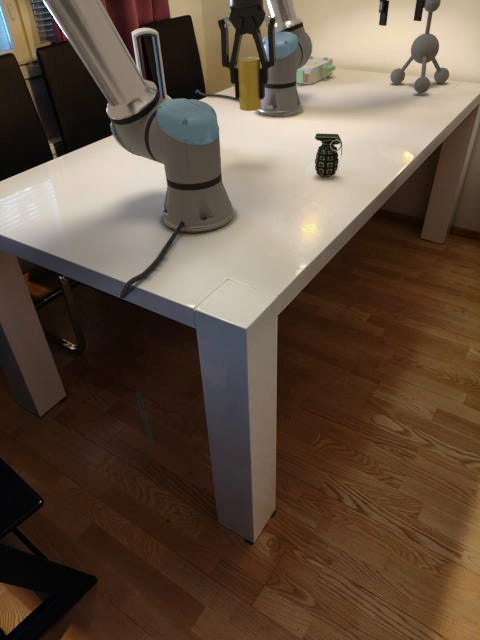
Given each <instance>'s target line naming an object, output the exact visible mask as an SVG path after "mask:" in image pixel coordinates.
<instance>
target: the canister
mask: <svg viewBox="0 0 480 640" xmlns="http://www.w3.org/2000/svg"><path fill="white" fill-rule="evenodd" d="M237 68H238V81H239V100H240V101H239V109H240V110H241V111H244V112H253V111H254V112H255V111H257V110H258V109H261V99H260V87H259V70H260V69H261V62H260V58H259V56H245V57H244V56H243V57H240V58H239V57H238V60H237Z"/></svg>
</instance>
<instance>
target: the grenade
mask: <svg viewBox="0 0 480 640" xmlns="http://www.w3.org/2000/svg"><path fill="white" fill-rule="evenodd" d="M314 139H315V140H316V141H319V142H321V145H319V146H318V148H317V152H316V155H315V159H314V164H315V165H314V170H315V171H316V172H315V173H316V175H318V176H319V177H320V178H322V179H329V178H332V177H333V176H334V175H336V174H337V172H338V171H339V170H340V169H339V163H340V162H342V161H341V160H342V159H340V160H339V153H338V151H341V152H340V157H342V156H343V142H342V138H341V137H340V135H339V133H316V134H315V136H314ZM336 145H337V146H338V145H339V148H338V147H337V146H336Z"/></svg>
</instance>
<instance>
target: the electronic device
mask: <svg viewBox="0 0 480 640" xmlns="http://www.w3.org/2000/svg"><path fill="white" fill-rule="evenodd" d="M130 34H131V39H132V45H133V52H134V58H135V64H136V66H137V68H138V69H139V71H140V73H141V75H142V77H143V79H144V80H146V78H145V71H144V70H145V69H144V65H143V64H144V63H143V58H142V51H141V45H140V38H142V37H147V36H149V37H151V39H152V46H153V54H154V61H155V69H156V76H157V83H158V90H159V92H160V94H161V96H162V98H163V100H164V101H168V100H172V99H173V98H172V97H171V96H169V95H168V93H167V87H166V80H165V79H166V78H165V72H164V63H163V57H162V56H163V55H162V49H161V42H160V35H159V34H160V33H159V31H157V30H156V29H154V28H150V27H140V28H136V29H134V30H133V31H131V32H130Z"/></svg>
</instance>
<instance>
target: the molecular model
mask: <svg viewBox="0 0 480 640" xmlns="http://www.w3.org/2000/svg"><path fill="white" fill-rule="evenodd" d="M440 6H441V0H426V2H425V7H424V8H423V9H424V10H425V11H426V12H427V18H426V25H425V31H424V33H422V34H420V35H418V36H417V37H416V38H415V39H414V40H413V42H412V44H411V47H410V57H409V58H408V59H407V61H406V62H405V63H404V65H403V66H402V67H401V68H400V67H397V68H396V69H393V70H392V72H391V73H390V82H392V83H393V84H395V85H400V84H401V83H403V81H404V80H405V78H406V73H405V70H406V69H407V68H408V67H409V65H410V64H411V63H412V62H413V61H414V62H415V63H418V64H421V73H420V77H418V78H417V79H415V82H414V84H413V87H414V91H415V92H416V93H418V94H424V93H426V92H428V90H429V89H430V87H431V81H430V78H429V77H427V76H426V73H427V64H428V63H431V62H432V64H433V67H434V69H435V70H436V71H435V72H434V74H433V75H434V76H433V79H434V81H435V83H437V84H444V83H446V82H447V81H448V80H449V77H450V71H449V70H448V68H446V67H440V64H439V62H438V60H437V57H436V56H437V55H438V53H439V50H440V42H439V39H438V37H437V36H436V35H434V34H432V33H430V30H431V26H432V25H431V24H432V19H433V14H434V12H436V11H437V10H438V9H439V8H440Z"/></svg>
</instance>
